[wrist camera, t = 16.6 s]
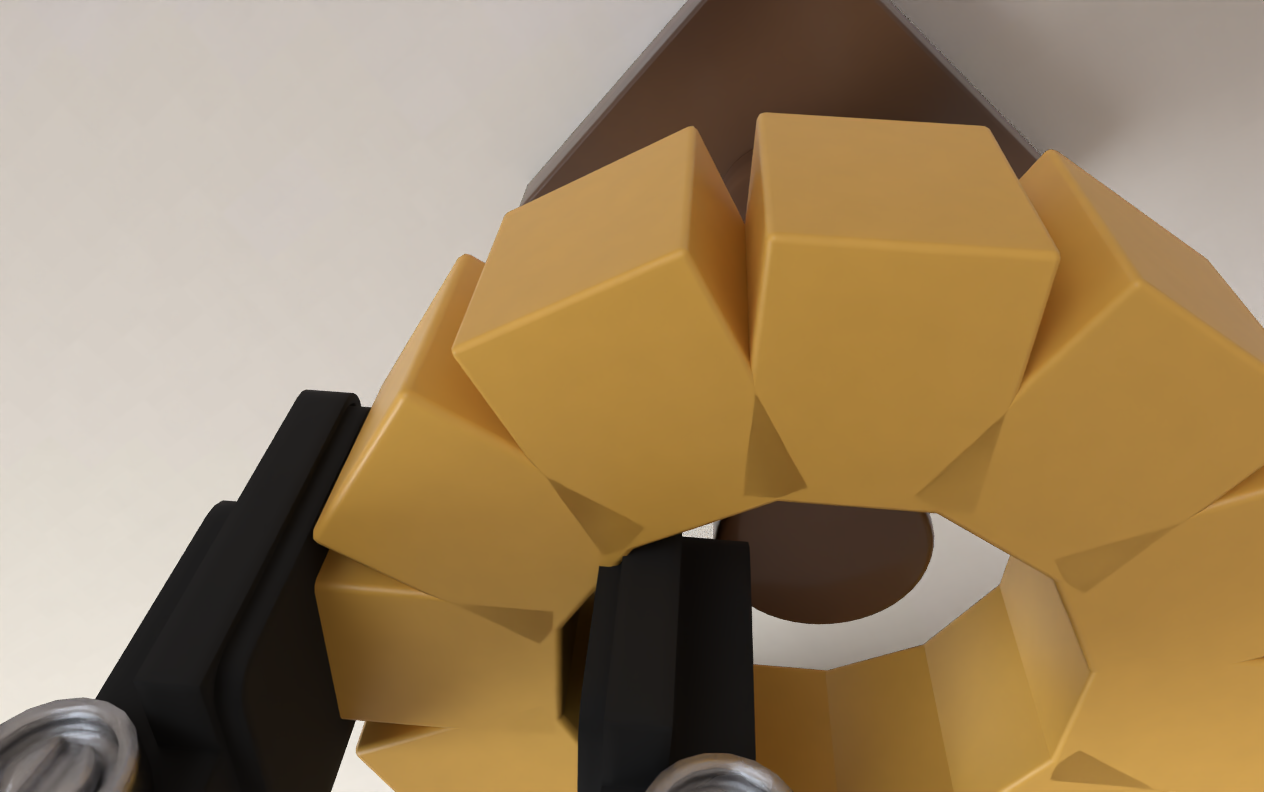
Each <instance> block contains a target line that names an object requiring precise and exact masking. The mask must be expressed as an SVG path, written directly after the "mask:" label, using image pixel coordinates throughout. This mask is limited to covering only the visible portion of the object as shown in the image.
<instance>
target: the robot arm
mask: <svg viewBox="0 0 1264 792" xmlns="http://www.w3.org/2000/svg"><path fill="white" fill-rule="evenodd" d="M370 410H371V407H361V404H360V400H359V398H358V396H357V395H356V394H354V393H344V392H331V391H318V390H304V391H302V392H301V393H300V395H299V396H298V397H297V399H296V401H295V402H294V404H293V406H292V408H291V409H290V411H289V413H288V414H287V416H286V418H285V420H284V421H283V423H282V425H281V427H280V428H279V430H278V432H277V433H276V435H275V437H274V439H273V440H272V442H271V444H270V445H269V447H268V449H267V451H266V452H265V454H264V456H263V457H262V459H261V461H260V463H259V464H258V466H257V468H256V470H255V471H254V473H253V475H252V476H251V478H250V480H249V482H248V483H247V485H246V487H245V488H244V490H243V492H242V494H241V495H240V497H239V499H238V500H237V502H236V501H221V502H220V503H218V504H216V505H215V506H214V507H213V508H212V509H211V511H210V512H209V513H208V514H207V516H206V517H205V519H204V521H203V522H202V524H201V526H200V527H199V529H198V531H197V532H196V534H195V536H194V537H193V539H192V540H191V542H190V544H189V545H188V547H187V549H186V550H185V552H184V554H183V555H182V557H181V559H180V560H179V562H178V564H177V565H176V567H175V568H174V570H173V572H172V573H171V575H170V577H169V578H168V580H167V582H166V583H165V585H164V587H163V588H162V590H161V592H160V593H159V595H158V596H157V598H156V600H155V601H154V603H153V605H152V606H151V608H150V610H149V611H148V613H147V615H146V616H145V618H144V620H143V621H142V623H141V624H140V626H139V628H138V629H137V631H136V633H135V634H134V636H133V638H132V639H131V641H130V643H129V644H128V646H127V648H126V649H125V651H124V652H123V654H122V656H121V657H120V659H119V661H118V662H117V664H116V666H115V667H114V669H113V671H112V672H111V674H110V675H109V677H108V679H107V680H106V682H105V684H104V685H103V687H102V689H101V690H100V692H99V694H98V695H97V697H96V699H89V698H73V699H63V700H56V701H52V702H49V703H46V704H43V705H40V706H37V707H34V708H30V709H28V710H26V711H24V712H22V713H21V714H19V715H17V716H15V717H13V718H11V719H9V720H8V721H6V722H4V723H2V724H1V725H0V792H331V790H332V787H333V784H334V782H335V779H336V776H337V773H338V770H339V767H340V764H341V761H342V759H343V756H344V753H345V750H346V747H347V744H348V741H349V738H350V736H351V733H352V730H353V727H354V724H355V721H356V720H348V719H342V718H341V717H340V712H339V708H338V703H337V698H336V693H335V688H334V683H333V679H332V674H331V669H330V664H329V659H328V654H327V650H326V645H325V640H324V635H323V630H322V625H321V620H320V616H319V611H318V606H317V601H316V596H315V582H316V578H317V576H318V574H319V571H320V569H321V567H322V565H323V562H324V560H325V558H326V556H327V553H328V551H329V548H326V547H324V546H322V545H320V544H318V543H317V542H316V541H315V540H314V539H313V530H314V527H315V525H316V523H317V521H318V519H319V517H320V515H321V513H322V511H323V509H324V506H325V504H326V502H327V500H328V498H329V496H330V494H331V492H332V490H333V488H334V485H335V483H336V481H337V479H338V477H339V475H340V473H341V471H342V469H343V466H344V464H345V462H346V460H347V458H348V456H349V454H350V452H351V450H352V448H353V445H354V443H355V441H356V439H357V437H358V435H359V433H360V431H361V429H362V427H363V424H364V422H365V420H366V418H367V416H368V414H369V412H370ZM577 792H793V791H792V789H791V788H790V787H789V786H788V785H787V784H786V783H785V782H784V781H783V780H782V779H781V778H780V777H779V776H778V775H777V774H776V773H774V772H772V771H771V770H769V769H767V768H766V767H764V766H763V765H761V764H759V763H758V762H756V744H755V708H754V673H753V638H752V602H751V567H750V547H749V543H748V542H743V541H731V540H718V539H706V538H693V537H682V533H679V534H676V535H673V536H670V537H667V538H664V539H661V540H658V541H655V542H652V543H649V544H646V545H643V546H640V547H637V548H634V549H632V551H631V552H630V553H629V554H628V555H627V556H623V558H622V562H621V563H620V564H619V565H617V566H611V567H606V566H599V570H598V577H597V584H596V592H595V599H594V606H593V613H592V620H591V627H590V634H589V642H588V649H587V656H586V663H585V670H584V677H583V685H582V693H581V702H580V713H579V727H578V777H577Z"/></svg>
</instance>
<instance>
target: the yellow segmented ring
mask: <svg viewBox="0 0 1264 792" xmlns="http://www.w3.org/2000/svg"><path fill="white" fill-rule="evenodd" d="M776 501H784V502H797V503H810V504H823V505H836V506H849V507H862V508H875V509H888V510H901V511H914V512H927V513H937V514H939V515H941V516H943V517H944V518H946V519H948V520H950V521H951V522H953V523H955V524H957V525H958V526H960V527H962V528H964V529H965V530H967V531H969V532H971V533H972V534H974V535H976V536H978V537H979V538H981V539H983V540H985V541H986V542H988V543H990V544H992V545H993V546H995V547H997V548H999V549H1000V550H1002V551H1004V552H1006V553H1007V554H1009V555H1010V557H1009V560H1008V563H1007V565H1006V568H1005V571H1004V574H1003V577H1002V580H1001V582H1000V585H998V586H997V587H996V588H994V589H993V590H992V591H991V592H989V593H988V594H987V595H986V596H984V597H983V598H982V599H980V600H979V601H978V602H977V603H975V604H974V605H973V606H972V607H970V608H969V609H968V610H967V611H965V612H964V613H963V614H961V615H960V616H959V617H958V618H956V619H955V620H954V621H953V622H951V623H950V624H949V625H947V626H946V627H945V628H944V629H942V630H941V631H940V632H939V633H937V634H936V635H935V636H934V637H932V638H931V639H930V640H928V641H927V642H926V643H925V644H923V645H920V646H916V647H912V648H908V649H905V650H901V651H897V652H894V653H890V654H886V655H882V656H879V657H875V658H871V659H868V660H864V661H860V662H856V663H853V664H849V665H845V666H842V667H838V668H834V669H830V670H816V669H804V668H792V667H780V666H768V665H756V664H753V673H754V708H755V744H756V762H758V763H759V764H761V765H763V766H764V767H766V768H767V769H769V770H771V771H772V772H774V773H776V774H777V775H778V776H779V777H780V778H781V779H782V780H783V781H784V782H785V783H786V784H787V785H788V786H789V787H790V788H791V789H792V791H793V792H1264V328H1263V327H1262V326H1261V325H1260V323H1259V322H1258V321H1257V320H1256V318H1255V317H1254V316H1253V315H1252V313H1251V312H1250V311H1249V310H1248V309H1247V307H1246V306H1245V305H1244V304H1243V302H1242V301H1241V300H1240V299H1239V297H1238V296H1237V295H1236V294H1235V293H1234V291H1233V290H1232V289H1231V288H1230V286H1229V285H1228V284H1227V283H1226V281H1225V280H1224V279H1223V278H1222V277H1221V275H1220V274H1219V273H1218V272H1217V270H1216V269H1215V268H1214V267H1213V265H1212V264H1211V263H1210V262H1209V261H1208V259H1206V258H1205V257H1203V256H1202V255H1201V254H1199V253H1198V252H1196V251H1195V250H1194V249H1192V248H1191V247H1190V246H1188V245H1187V244H1185V243H1184V242H1183V241H1181V240H1180V239H1178V238H1177V237H1176V236H1174V235H1173V234H1172V233H1170V232H1169V231H1167V230H1166V229H1165V228H1163V227H1162V226H1160V225H1159V224H1158V223H1156V222H1155V221H1154V220H1152V219H1151V218H1149V217H1148V216H1147V215H1145V214H1144V213H1142V212H1141V211H1140V210H1138V209H1137V208H1135V207H1134V206H1133V205H1131V204H1130V203H1129V202H1127V201H1126V200H1124V199H1123V198H1122V197H1120V196H1119V195H1117V194H1116V193H1115V192H1113V191H1112V190H1111V189H1109V188H1108V187H1106V186H1105V185H1104V184H1102V183H1101V182H1099V181H1098V180H1097V179H1095V178H1094V177H1092V176H1091V175H1090V174H1088V173H1087V172H1086V171H1084V170H1083V169H1081V168H1080V167H1079V166H1077V165H1076V164H1074V163H1073V162H1072V161H1070V160H1069V159H1068V158H1066V157H1065V156H1063V155H1062V154H1061V153H1059V152H1058V151H1056V150H1051V149H1049V150H1047V151H1046V152H1045V153H1044V154H1043V155H1042V156H1041V157H1040V158H1039V159H1038V160H1037V161H1036V162H1035V163H1034V164H1033V165H1032V166H1031V167H1030V169H1029V170H1028V171H1027V172H1026V173H1025V174H1024V175H1023V176H1022V177H1021V178H1020V179H1019V180H1018V178H1017V176H1016V175H1015V173H1014V171H1013V169H1012V168H1011V166H1010V164H1009V162H1008V161H1007V159H1006V157H1005V155H1004V154H1003V152H1002V150H1001V148H1000V146H999V145H998V143H997V141H996V139H995V138H994V136H993V134H992V132H991V131H990V129H989V128H987V127H985V126H976V125H960V124H944V123H928V122H912V121H896V120H880V119H864V118H848V117H832V116H816V115H800V114H784V113H768V112H765V113H761V114H759V116H758V118H757V121H756V130H755V139H754V148H753V157H752V166H751V175H750V184H749V193H748V201H747V210H746V219H745V224H744V222H743V220H742V218H741V216H740V214H739V212H738V210H737V208H736V206H735V204H734V202H733V200H732V198H731V196H730V194H729V192H728V190H727V188H726V186H725V184H724V182H723V180H722V178H721V176H720V174H719V172H718V170H717V168H716V166H715V164H714V162H713V160H712V158H711V156H710V154H709V152H708V150H707V148H706V146H705V144H704V142H703V140H702V138H701V136H700V134H699V132H698V130H697V129H696V128H695V127H694V126H690V127H686V128H684V129H682V130H680V131H678V132H676V133H674V134H672V135H670V136H668V137H665V138H663V139H661V140H659V141H657V142H655V143H653V144H651V145H649V146H647V147H644V148H642V149H640V150H638V151H636V152H634V153H632V154H630V155H628V156H626V157H623V158H621V159H619V160H617V161H615V162H613V163H611V164H609V165H607V166H604V167H602V168H600V169H598V170H596V171H594V172H592V173H590V174H588V175H586V176H583V177H581V178H579V179H577V180H575V181H573V182H571V183H569V184H567V185H565V186H562V187H560V188H558V189H556V190H554V191H552V192H550V193H548V194H546V195H544V196H541V197H539V198H537V199H535V200H533V201H531V202H529V203H527V204H525V205H523V206H520V207H518V208H516V209H514V210H512V211H510V212H508V213H507V214H506V215H505V216H504V218H503V221H502V223H501V226H500V228H499V231H498V233H497V236H496V238H495V241H494V243H493V246H492V248H491V251H490V253H489V256H488V258H487V261H486V263H484V262H482V261H480V260H479V259H477V258H475V257H473V256H472V255H469V254H464V255H462V256H461V257H459V258H458V259H457V261H456V263H455V264H454V266H453V268H452V269H451V271H450V273H449V274H448V276H447V278H446V279H445V281H444V283H443V284H442V286H441V288H440V289H439V291H438V293H437V294H436V296H435V298H434V299H433V301H432V303H431V304H430V306H429V308H428V309H427V311H426V313H425V314H424V316H423V318H422V319H421V321H420V323H419V324H418V326H417V328H416V329H415V331H414V333H413V335H412V336H411V338H410V340H409V341H408V343H407V345H406V346H405V348H404V350H403V351H402V353H401V355H400V356H399V358H398V360H397V361H396V363H395V365H394V366H393V368H392V370H391V371H390V373H389V375H388V376H387V378H386V380H385V381H384V383H383V385H382V387H381V389H380V391H379V393H378V395H377V397H376V399H375V401H374V403H373V406H372V408H371V410H370V412H369V414H368V416H367V418H366V420H365V422H364V424H363V427H362V429H361V431H360V433H359V435H358V437H357V439H356V441H355V443H354V445H353V448H352V450H351V452H350V454H349V456H348V458H347V460H346V462H345V464H344V466H343V469H342V471H341V473H340V475H339V477H338V479H337V481H336V483H335V485H334V488H333V490H332V492H331V494H330V496H329V498H328V500H327V502H326V504H325V506H324V509H323V511H322V513H321V515H320V517H319V519H318V521H317V523H316V525H315V527H314V530H313V539H314V540H315V541H316V542H317V543H318V544H320V545H322V546H324V547H326V548H329V551H328V553H327V556H326V558H325V560H324V562H323V565H322V567H321V569H320V571H319V574H318V576H317V578H316V582H315V596H316V601H317V606H318V611H319V616H320V620H321V625H322V630H323V635H324V640H325V645H326V650H327V654H328V659H329V664H330V669H331V674H332V679H333V683H334V688H335V693H336V698H337V703H338V708H339V712H340V717H341V718H342V719H348V720H360V721H365V723H364V726H363V729H362V731H361V734H360V737H359V740H358V743H357V746H356V754H357V756H358V757H359V758H360V759H361V760H362V761H363V762H364V763H365V764H366V765H367V766H368V767H370V768H371V769H372V770H373V771H374V772H375V773H376V774H377V775H378V776H379V777H380V778H381V779H382V780H383V781H384V782H385V783H386V784H388V785H389V786H390V787H391V788H392V789H393V790H394V791H395V792H577V777H578V727H579V713H580V702H581V693H582V685H583V677H584V670H585V663H586V656H587V649H588V642H589V634H590V627H591V620H592V613H593V606H594V599H595V592H596V584H597V577H598V570H599V566H606V567H611V566H617V565H619V564H620V563H621V562H622V558H623V556H627V555H628V554H629V553H630V552H631V551H632V549H634V548H637V547H640V546H643V545H646V544H649V543H652V542H655V541H658V540H661V539H664V538H667V537H670V536H673V535H676V534H679V533H682V532H685V531H688V530H691V529H694V528H697V527H700V526H703V525H706V524H709V523H712V522H715V521H718V520H721V519H724V518H727V517H730V516H733V515H736V514H740V513H743V512H746V511H749V510H752V509H755V508H758V507H761V506H764V505H767V504H770V503H773V502H776Z"/></svg>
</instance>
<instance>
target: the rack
mask: <svg viewBox="0 0 1264 792" xmlns="http://www.w3.org/2000/svg"><path fill="white" fill-rule="evenodd" d="M765 112H768V113H784V114H800V115H816V116H832V117H848V118H864V119H880V120H896V121H912V122H928V123H944V124H960V125H976V126H985V127H987V128H989V129H990V131H991V132H992V134H993V136H994V138H995V139H996V141H997V143H998V145H999V146H1000V148H1001V150H1002V152H1003V154H1004V155H1005V157H1006V159H1007V161H1008V162H1009V164H1010V166H1011V168H1012V169H1013V171H1014V173H1015V175H1016V176H1017V178H1018V180H1019V179H1020V178H1021V177H1022V176H1023V175H1024V174H1025V173H1026V172H1027V171H1028V170H1029V169H1030V167H1031V166H1032V165H1033V164H1034V163H1035V162H1036V161H1037V160H1038V159H1039V158H1040V157H1041V155H1040V154H1039V153H1038V152H1037V151H1036V150H1035V149H1034V148H1033V147H1032V146H1031V145H1030V144H1029V143H1028V142H1027V141H1026V140H1025V138H1024V137H1023V136H1022V135H1021V134H1020V133H1019V132H1018V131H1017V130H1016V129H1015V128H1014V127H1013V126H1012V125H1011V124H1010V123H1009V122H1008V121H1007V120H1006V119H1005V118H1004V117H1003V116H1002V115H1001V114H1000V113H999V112H998V111H997V110H996V109H995V108H994V107H993V106H992V105H991V104H990V103H989V102H988V101H987V100H986V99H985V98H984V97H983V95H982V94H981V93H980V92H979V91H978V90H977V89H976V88H975V87H974V86H973V85H972V84H971V83H970V82H969V81H968V80H967V79H966V78H965V77H964V76H963V75H962V74H961V73H960V72H959V71H958V70H957V69H956V68H955V67H954V66H953V65H952V64H951V63H950V62H949V61H948V60H947V59H946V58H945V57H944V56H943V55H942V54H941V52H940V51H939V50H938V49H937V48H936V47H935V46H934V45H933V44H932V43H931V42H930V41H929V40H928V39H927V38H926V37H925V36H924V35H923V34H922V33H921V32H920V31H919V30H918V29H917V28H916V27H915V26H914V25H913V24H912V23H911V22H910V21H909V20H908V19H907V18H906V17H905V16H904V15H903V14H902V13H901V12H900V11H899V9H898V8H897V7H896V6H895V5H894V4H893V3H892V2H891V1H890V0H688V1H687V2H686V3H685V4H684V5H683V6H682V8H681V9H680V10H679V11H678V12H677V13H676V15H675V16H674V17H673V18H672V19H671V20H670V21H669V23H668V24H667V25H666V26H665V27H664V28H663V30H662V31H661V32H660V33H659V34H658V35H657V36H656V38H655V39H654V40H653V41H652V42H651V43H650V45H649V46H648V47H647V48H646V49H645V50H644V51H643V53H642V54H641V55H640V56H639V57H638V58H637V60H636V61H635V62H634V63H633V64H632V65H631V66H630V68H629V69H628V70H627V71H626V72H625V73H624V75H623V76H622V77H621V78H620V79H619V80H618V81H617V83H616V84H615V85H614V86H613V87H612V88H611V89H610V91H609V92H608V93H607V94H606V95H605V96H604V98H603V99H602V100H601V101H600V102H599V103H598V104H597V106H596V107H595V108H594V109H593V110H592V111H591V113H590V114H589V115H588V116H587V117H586V118H585V119H584V121H583V122H582V123H581V124H580V125H579V126H578V128H577V129H576V130H575V131H574V132H573V133H572V134H571V136H570V137H569V138H568V139H567V140H566V141H565V143H564V144H563V145H562V146H561V147H560V148H559V149H558V151H557V152H556V153H555V154H554V155H553V156H552V158H551V159H550V160H549V161H548V162H547V163H546V164H545V166H544V167H543V168H542V169H541V170H540V171H539V172H538V174H537V175H536V176H535V177H534V178H533V179H532V181H531V182H530V183H529V184H528V185H527V188H526V190H525V193H524V196H523V198H522V201H521V204H520V206H523V205H525V204H527V203H529V202H531V201H533V200H535V199H537V198H539V197H541V196H544V195H546V194H548V193H550V192H552V191H554V190H556V189H558V188H560V187H562V186H565V185H567V184H569V183H571V182H573V181H575V180H577V179H579V178H581V177H583V176H586V175H588V174H590V173H592V172H594V171H596V170H598V169H600V168H602V167H604V166H607V165H609V164H611V163H613V162H615V161H617V160H619V159H621V158H623V157H626V156H628V155H630V154H632V153H634V152H636V151H638V150H640V149H642V148H644V147H647V146H649V145H651V144H653V143H655V142H657V141H659V140H661V139H663V138H665V137H668V136H670V135H672V134H674V133H676V132H678V131H680V130H682V129H684V128H686V127H690V126H694V127H695V128H696V129H697V130H698V132H699V134H700V136H701V138H702V140H703V142H704V144H705V146H706V148H707V150H708V152H709V154H710V156H711V158H712V160H713V162H714V164H715V166H716V168H717V170H718V172H719V174H720V176H721V178H722V180H723V182H724V184H725V186H726V188H727V190H728V192H729V194H730V196H731V198H732V200H733V202H734V204H735V206H736V208H737V210H738V212H739V214H740V216H741V218H742V220H743V222H744V224H745V219H746V210H747V201H748V193H749V184H750V175H751V166H752V157H753V148H754V139H755V130H756V121H757V118H758V116H759V114H761V113H765ZM520 206H519V207H520ZM713 539H718V540H731V541H743V542H748V543H749V547H750V567H751V602H752V607H754V608H756V609H757V610H759V611H762V612H764V613H766V614H768V615H771V616H774V617H777V618H780V619H783V620H788V621H792V622H798V623H806V624H834V623H842V622H848V621H853V620H857V619H861V618H864V617H867V616H870V615H873V614H875V613H878V612H880V611H882V610H884V609H886V608H888V607H890V606H891V605H893V604H895V603H896V602H898V601H899V600H900V599H902V598H903V597H905V596H906V595H907V594H908V593H909V592H910V591H911V590H912V589H913V588H914V587H915V586H916V584H917V583H918V582H919V581H920V580H921V578H922V576H923V575H924V573H925V571H926V569H927V567H928V564H929V562H930V559H931V557H932V552H933V548H934V532H933V525H932V521H931V517H930V513H927V512H914V511H901V510H888V509H875V508H862V507H849V506H836V505H823V504H810V503H797V502H784V501H776V502H773V503H770V504H767V505H764V506H761V507H758V508H755V509H752V510H749V511H746V512H743V513H740V514H736V515H733V516H730V517H727V518H724V519H721V520H718V521H715V522H714V527H713Z"/></svg>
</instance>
